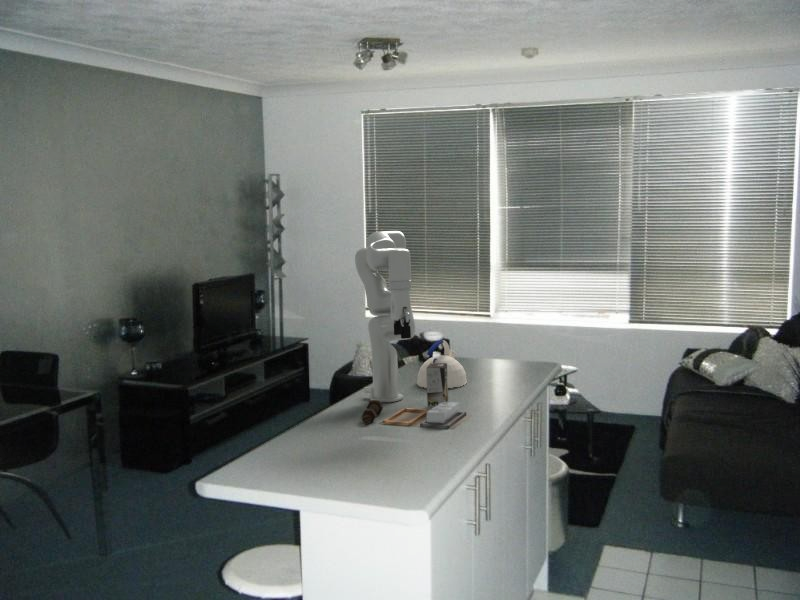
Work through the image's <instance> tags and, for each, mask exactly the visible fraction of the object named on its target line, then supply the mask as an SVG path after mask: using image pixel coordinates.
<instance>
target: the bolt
mask: <svg viewBox="0 0 800 600" xmlns="http://www.w3.org/2000/svg"><path fill="white" fill-rule="evenodd" d="M383 409H384V406H383V405H382V402H380V401H379V400H369V403H368V404H367V406H366V408H365V409H364V410H363V412H362V414H361V421H362V422H363V423H364V424H366V425H367V424H370V423H373V422H374V421H375V420H376V418H377V416H380V414H381V413H382V411H383Z"/></svg>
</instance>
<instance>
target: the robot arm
mask: <svg viewBox="0 0 800 600" xmlns="http://www.w3.org/2000/svg"><path fill="white" fill-rule="evenodd" d="M354 255H355V257H354V262H355V268H356V270H357V271H356V272H357V274H358V277H359V278H360V280H361V283H363V286H364V291H365V296H366V303H367V306H368V311H369V313H370V314H371V315H372V316H374V317H372V318H371V319H370V320H369V321H368V327H367V329H368V334H369V339H370V345H371V364H372V370H371V371H372V387H370V386H369V387H368V386H364V388H363V390H364V393H365V394H370V396H369V401H371V400H379V401H380V403H394V402H399V401H401V400H403V398H404V395H403V394H401V393H400V392H399V391H400V390H399V364H398V352H397V350H396V348H395V346H394V345H392V344H391V342H392V341H404V340H411V339H413V338H414V336H415V335H416V324H415V318H414V313H413V309H412V305H411V299H410V298H411V296H410V291H412V266H411V264H412V263H411V261H412V259H411V251H410V250H409V249H407V239H406V237H405V234H404V233H403V232H402V231H400V230H382V231H381V230H380V231H375V232H374V231H373V232H372V233H370V234H369V235H368V237H367V238H366V247H363V248H361V249H358V250H356V253H355V254H354ZM378 271H380V272H381V271H388V285H387V281H386V279H385V278H384V277H383V276H382V274H380V273H379V272H378ZM388 288H389V289H388Z"/></svg>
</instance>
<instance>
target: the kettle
mask: <svg viewBox="0 0 800 600" xmlns="http://www.w3.org/2000/svg"><path fill="white" fill-rule="evenodd" d="M441 344H442V345H443V348H444V349H443V350H444V353H443V354H441V355H435V356H432V355H433V352H434V351H435V350H436V348H437V347H438V346H440V345H441ZM456 355H457V353H456V351H455V350H453V349H450V345H449V343H448V342H447V341H446V340H445V339H444V340H443V339H440V340H437V341H435V343H433V344H432V345H431V346H430V348H429V350H428V351H427V353H426V356H432V357H430V358H428V359H427V360H426V361H424V363H423V364H422V365H421V366H420V368H419V369H418V373H417V382H416V385H417V386H418V387H420V388H423V387H424V389H427V372H426V368H427V367H428V365H429V364H430V363H432V364H435V363H447V377H448V388H451V389H454V388H453V387H457V388H461V387H464V386H466V385H467V384H466V383H468V382H467V381H468V380H467V373H466V371H465V368H464V366H463V365H462V364H461V363H460V362H459V361H458V360H456V359H455V356H456ZM465 384H466V385H465ZM463 385H464V386H463ZM460 386H461V387H460Z"/></svg>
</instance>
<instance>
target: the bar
mask: <svg viewBox="0 0 800 600" xmlns="http://www.w3.org/2000/svg"><path fill="white" fill-rule="evenodd" d="M460 407H461V406H460V402H455V401H448V402H441V403H440V404H438V405H437V406H435V407H434V408H432V409H431V410H429V411H428V412H427V423H428V424H442V425H447V424H449V423H450V422H451V421H453V420H454V419H455V418H457V417H458V416H459V415H460V412H461V411H460V409H461V408H460Z"/></svg>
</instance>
